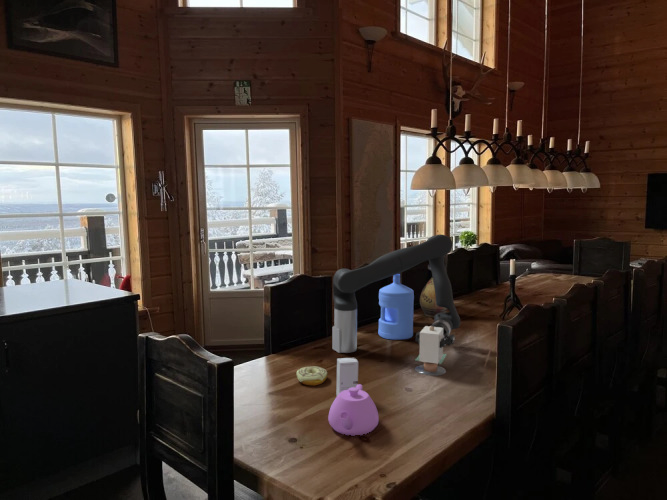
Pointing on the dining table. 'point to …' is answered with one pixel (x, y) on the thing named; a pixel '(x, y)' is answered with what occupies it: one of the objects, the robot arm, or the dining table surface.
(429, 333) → the ceramic cover
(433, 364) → the clay bowl
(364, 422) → the teapot
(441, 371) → the slate coaster
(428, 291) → the ceramic jug
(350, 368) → the skincare box
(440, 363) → the felt mat
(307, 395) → the dining table surface
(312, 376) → the decorated donut
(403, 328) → the water jug
